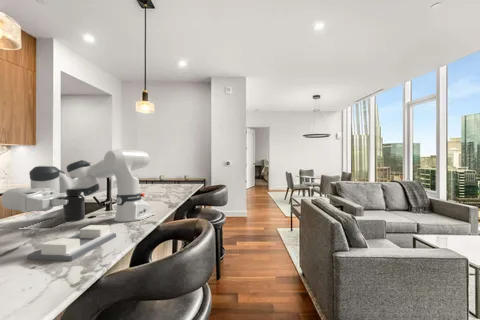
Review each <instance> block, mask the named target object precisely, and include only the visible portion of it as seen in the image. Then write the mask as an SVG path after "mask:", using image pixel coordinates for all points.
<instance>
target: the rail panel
mask: <svg viewBox="0 0 480 320" xmlns="http://www.w3.org/2000/svg"><path fill="white" fill-rule="evenodd" d="M116 237H117V233H116V232H114V231H111V226H110V225H102V224H100V225H99V224H90V225H87V226H84V227H82V228H80V229H79V233H77V234H75V235H72V236H69V237H68V238H67V237H66V238H65V237H64V238H62V237H61V238H59V237H58V238H54V239H51V240H49V241H46V242H43V243H41V244H40V246H41V247H40V249H38V250H35V251H33V252H31V253H28V254H27V260H38V261H39V260H41V261H42V260H44V261H46V260H47V261H66V262H67V261H69V262H70V261H71V262H72V261H74V260H76V259H78V258H79V257H82V256H84V255H86V254H87V253H88V252H91V251H92V250H94V249H96V248H98V247H100V246H102V245H103V244H105V243H107V242H109V241H111V240H112V239H115V238H116Z"/></svg>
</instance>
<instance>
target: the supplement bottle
mask: <svg viewBox="0 0 480 320" xmlns="http://www.w3.org/2000/svg"><path fill="white" fill-rule="evenodd" d="M81 193H82V192H81V188H74V189H67V190H66V194H67V196H66V197H64V199H68V200H69V204H66V205H62V210H63V211H62V220H63V222H65V223H71V222H72V223H73V222H74V223H76V222H80V221H83V220H84V219H85V217H86V216H85V215H86V214H85V213H86V212H85V211H86V210H85V209H86V208H85V207H86V206H85V203H86V202H85V201H86V200H85V199H84V196H83V195H81ZM64 199H63V200H64Z"/></svg>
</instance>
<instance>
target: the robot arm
mask: <svg viewBox="0 0 480 320" xmlns="http://www.w3.org/2000/svg"><path fill="white" fill-rule="evenodd" d="M149 164H150V156H149V154H148V152H146V151H143V150H139V149H112V150H108V151H107V152H105V154H104V157H103V159H102V160H99V161H98V162H96V163H95V164H92V165H91V162H88V161H87V160H82V159H77V160H73V161H71V162H70V163H69V164H67V166H66V171H67V173H68V175H69V176H67V174H66V173H65V171H64V170H60V169H59V168H58V167H56V166H53V165H48V164H45V165H44V164H43V165H37V166H34V167H33V168H32V169H31V170H30V171H29V179H30V187H19V188H10V189H7V190H5V191H4V192H3V193H2V194H1V197H0V202H1V205H2V207H4V208H5V209H8V210H12V211H20V212H22V213H31V212H49V211H50V210H52V209H53V208H54V207H59V206H63V205H66V204H69V200H68V199H64V197H66V196H67V194H66V190H67V189H74V188H81V192H82V193H81V195H83V196H84V199H85V201H86V200H87V199H86V198H87V196H93V195H94V194H96V193H97V192H98V191H99V190H100V184H99V183H98V180H97V179H107V178H110V177H113V176H114V177H115V180H116V186H117V187H116V189H117V190H116V192H117V194H116V197H115V198H116V210H115V216H114V219H113V220H114V221H115V222H122V223H123V222H125V223H126V222H132V221H135V222H137V221H138V222H139V220H140V221H142V219H143V220H145V219H148V218H151V217H153V216H155V215H156V212H154V211H152V208H151V207H152V206H151V205H150V204H149V203H148V202H146V201H145V200H144V199H142V198H144V197H146V194H145V193H143V192H141V193H140V180H139V178H138V177H137V176H135V175H134V174H133V173H132V171H136V170H139V169H144V168H146V167H147V166H149ZM63 199H64V200H63ZM152 215H153V216H152ZM147 217H148V218H147Z"/></svg>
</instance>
